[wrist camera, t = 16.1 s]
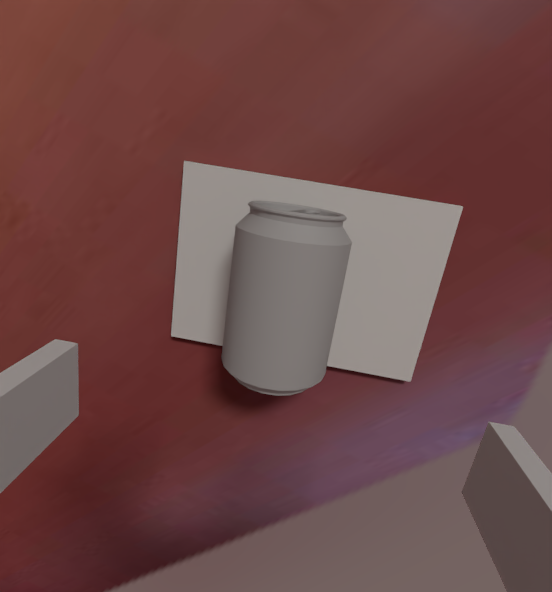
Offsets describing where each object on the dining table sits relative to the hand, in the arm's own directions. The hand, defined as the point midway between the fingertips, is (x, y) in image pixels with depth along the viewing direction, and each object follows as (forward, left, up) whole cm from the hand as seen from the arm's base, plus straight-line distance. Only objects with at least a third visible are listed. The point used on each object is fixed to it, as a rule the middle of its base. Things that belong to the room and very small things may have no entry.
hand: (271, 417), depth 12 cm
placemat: (0, 0, -19) cm, 19 cm away
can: (+4, -6, -14) cm, 16 cm away
